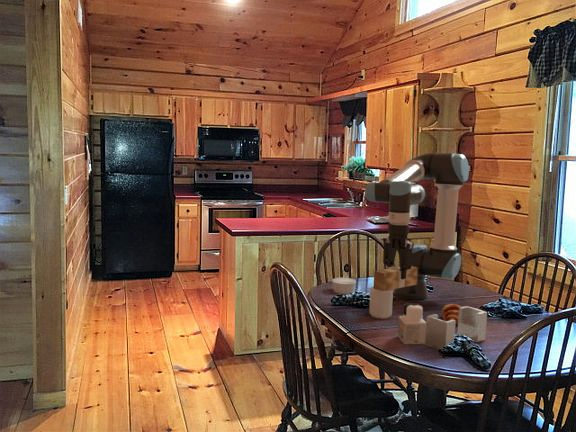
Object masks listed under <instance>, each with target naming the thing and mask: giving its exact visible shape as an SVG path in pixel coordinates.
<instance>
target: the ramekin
mask: <svg viewBox="0 0 576 432" xmlns="http://www.w3.org/2000/svg"><path fill="white" fill-rule="evenodd" d="M331 283H332V291H334V293H336V294H339V295H340V294H341V295H349V294H348V293H351V294H352V292H353V293H354V291H355V288H356V283H357V280H355V279H354V278H350V277H335V278H332V279H331Z"/></svg>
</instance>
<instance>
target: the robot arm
mask: <svg viewBox="0 0 576 432" xmlns="http://www.w3.org/2000/svg"><path fill="white" fill-rule="evenodd" d="M469 174H470V167H469V162H468V159H467V158H466V156H465V155H464V154H460V153H454V152H453V153H451V152H450V153H443V152H441V153H439V152H438V153H437V152H436V153H435V152H428V153H424V154H420V155H417V156H415V157H413V158H411V159H409V160H408V161H406V162H405V163H404V166H403V167H401V168H399V169H397V170H396V171H395V172H393V173H392V174H390V175H388V176H387V177H385V178H384V179H382V180H380V181H379V182H376V181H373V182H369V183H367V184H366V186H365V189H364V190H365V191H364V194H365V198H366V200H367V201H370V202H375V203H388V204H389V205H388V225H387V233H388V234H389V235H388V236H387V237H383V238H382V244H383V256H382V260H383V261H382V263H383V264H384V265H385V266H386V269H389V268H395V267H396V266H395V260H396V259H395V258H396V255H397V253H398V259H399V260H398V267H400V269H399V271H398V288H397V289H393V296H395V297H397V298H399V299H405V300H416V301H417V300H425V299H427V298H428V296H429V295H428V294H429V291H428V289H427V285H426V279H425V277H426V276H427V277H433V278H434V277H435V278H439V279H442V280H444V279H446V280H453V279H455V278H456V276H457V275H458V273H459V271H460V268H461V264H462V255H461V253H459V252H458V247H457V246H456V245H455V237H456V225H457V214H458V204H459V203H458V202H459V191H460V189H461V188H462V187H463V185H464V182H467V181H468V179H469V176H470V175H469ZM420 180H430V181H431V180H432V181H434V185H435V186H436V187H437V197H436V198H437V200H436V208H435V209H436V211H435V220H434V232H433V233H434V234H433V243H432V244H431V245H429V249H428V247H427V245H426V244H414V242H411V241H409V239H408V236H409V234H410V225H409V224H410V220H411V219H410V218H411V217H410V214H411V206H413V205H414V206H415V205H416V206H417V205H418V204H420V203H422V202H423V201H424V199H425V197H426V192H425V188H423V186H421V184H416V183H415V184H413V183H414V182H419V181H420ZM411 266H414V267H418V279H417V285H412V286H407V287H405V279H406V271H407V270H409V269H411Z"/></svg>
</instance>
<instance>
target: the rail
mask: <svg viewBox="0 0 576 432" xmlns="http://www.w3.org/2000/svg"><path fill="white" fill-rule="evenodd" d="M394 267H395V268H389V269H387V268H385V269H384V268H383V269H379V270H374V271H373V286H374V289H377V290H380V291H387V290H392V289H393V290H394V289H397V288H398V271H399V269H400V267H399V266H394ZM417 279H418V267H414V266H411V269H409V270H407V271H406V279H405V287H407V286H412V285H417Z"/></svg>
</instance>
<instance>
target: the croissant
mask: <svg viewBox="0 0 576 432" xmlns="http://www.w3.org/2000/svg"><path fill="white" fill-rule="evenodd" d="M461 307H462V306H461V305H459V304H456V303H450V304H449V303H448V304H446V305H443V307H442V309H441V316H442V320H443V321H449V320H455V321H456V323H455V326H456V325H457V326H458V317H459V308H461Z"/></svg>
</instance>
